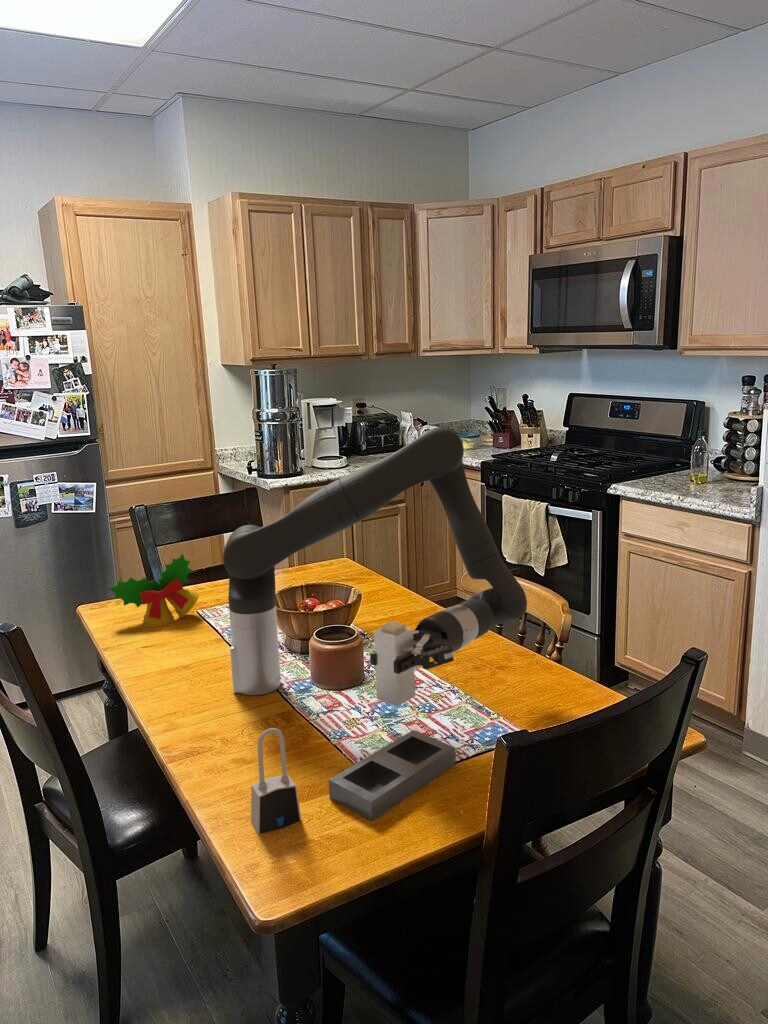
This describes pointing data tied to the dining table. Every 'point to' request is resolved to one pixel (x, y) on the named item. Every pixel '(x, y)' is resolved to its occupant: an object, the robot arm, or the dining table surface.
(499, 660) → the dining table surface
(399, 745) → the cinder block
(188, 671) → the dining table surface
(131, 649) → the dining table surface
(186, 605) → the ornament
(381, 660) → the grey rectangular block
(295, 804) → the padlock
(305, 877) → the dining table surface
